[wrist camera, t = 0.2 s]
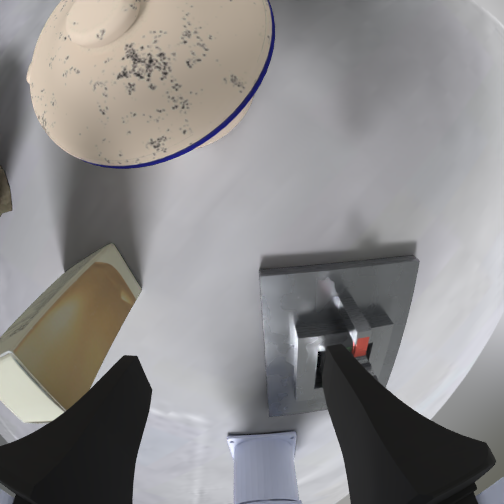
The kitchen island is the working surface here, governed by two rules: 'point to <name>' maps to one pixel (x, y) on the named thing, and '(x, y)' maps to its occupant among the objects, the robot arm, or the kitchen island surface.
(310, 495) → the kitchen island surface
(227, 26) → the teacup with lid
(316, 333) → the stand base
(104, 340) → the skincare box
